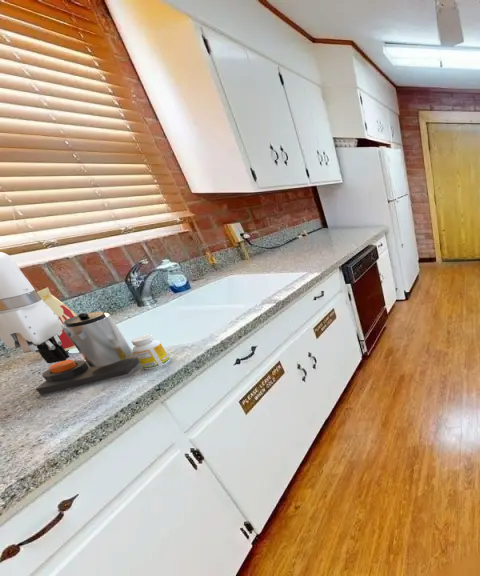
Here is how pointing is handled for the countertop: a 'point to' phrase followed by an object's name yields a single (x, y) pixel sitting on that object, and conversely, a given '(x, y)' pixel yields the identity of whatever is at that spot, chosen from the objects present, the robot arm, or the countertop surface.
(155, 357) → the supplement bottle
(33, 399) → the countertop surface
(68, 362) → the power button
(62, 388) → the push button panel
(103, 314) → the kettle
